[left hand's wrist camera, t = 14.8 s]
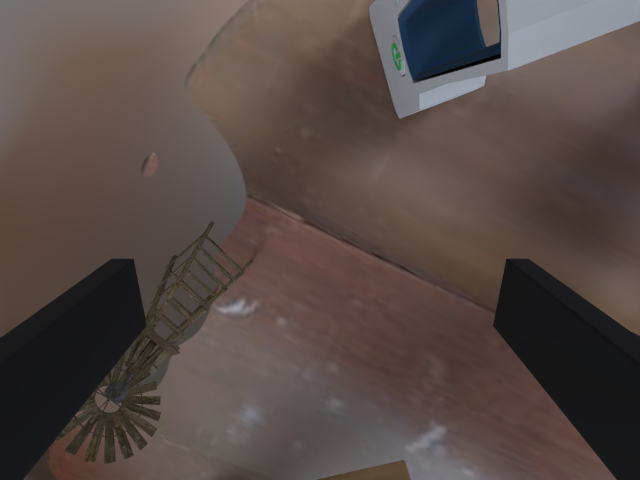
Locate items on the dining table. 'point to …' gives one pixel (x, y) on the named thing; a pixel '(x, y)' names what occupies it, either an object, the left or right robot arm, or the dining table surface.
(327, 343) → the dining table surface
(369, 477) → the box
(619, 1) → the electronic device
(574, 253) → the dining table surface
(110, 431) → the miniature windmill
